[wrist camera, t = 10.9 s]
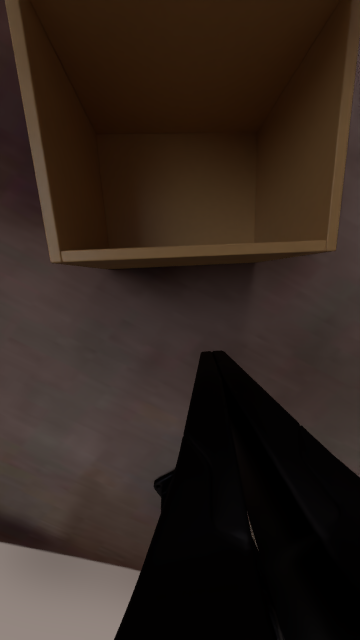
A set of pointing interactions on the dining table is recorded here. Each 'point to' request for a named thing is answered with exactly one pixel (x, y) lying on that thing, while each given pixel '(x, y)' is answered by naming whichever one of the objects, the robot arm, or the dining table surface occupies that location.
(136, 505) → the dining table surface
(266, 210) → the kraft bin
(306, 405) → the dining table surface
